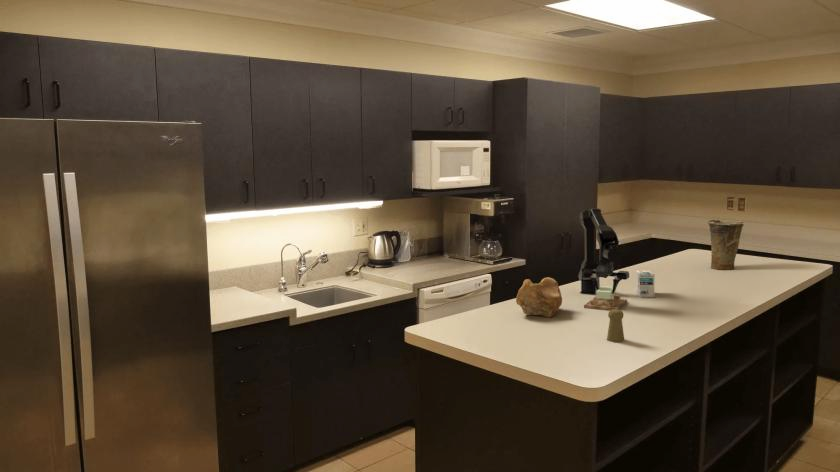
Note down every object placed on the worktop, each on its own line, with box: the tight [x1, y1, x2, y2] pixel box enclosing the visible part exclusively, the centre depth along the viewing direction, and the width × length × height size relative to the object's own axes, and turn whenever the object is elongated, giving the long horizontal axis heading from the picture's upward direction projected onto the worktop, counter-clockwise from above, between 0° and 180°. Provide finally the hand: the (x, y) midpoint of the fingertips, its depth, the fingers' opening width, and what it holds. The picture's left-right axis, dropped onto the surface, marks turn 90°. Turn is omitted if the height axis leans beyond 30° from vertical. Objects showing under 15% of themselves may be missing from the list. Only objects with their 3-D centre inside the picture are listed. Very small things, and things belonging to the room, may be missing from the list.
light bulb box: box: [636, 269, 655, 298], centre depth 293 cm, size 11×7×11 cm, turn 168°
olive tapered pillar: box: [606, 309, 625, 343], centre depth 224 cm, size 6×6×11 cm
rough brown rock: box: [515, 276, 563, 319], centre depth 263 cm, size 23×17×15 cm
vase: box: [707, 219, 745, 271], centre depth 349 cm, size 18×18×27 cm
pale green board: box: [595, 285, 617, 299], centre depth 275 cm, size 6×12×3 cm, turn 152°
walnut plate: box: [583, 294, 628, 312], centre depth 276 cm, size 14×18×3 cm
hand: (605, 293), depth 276 cm, fingers closed on pale green board, 6 cm apart
